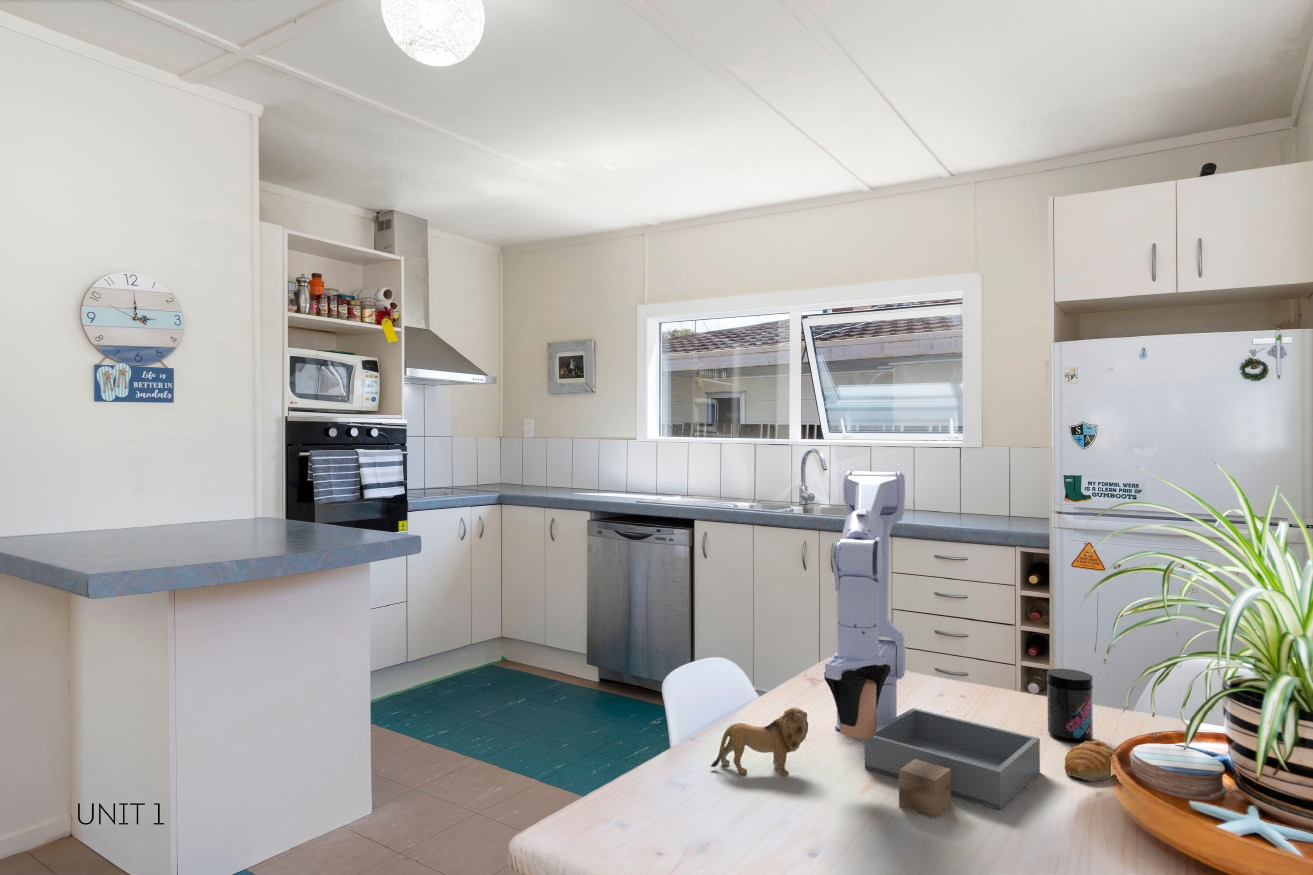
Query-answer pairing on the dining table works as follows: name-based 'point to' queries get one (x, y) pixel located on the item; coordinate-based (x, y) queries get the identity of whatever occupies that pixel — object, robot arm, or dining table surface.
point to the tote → (957, 754)
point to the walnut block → (925, 788)
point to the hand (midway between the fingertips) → (857, 719)
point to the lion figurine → (765, 739)
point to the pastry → (1089, 761)
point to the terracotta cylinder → (864, 714)
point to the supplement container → (1070, 705)
